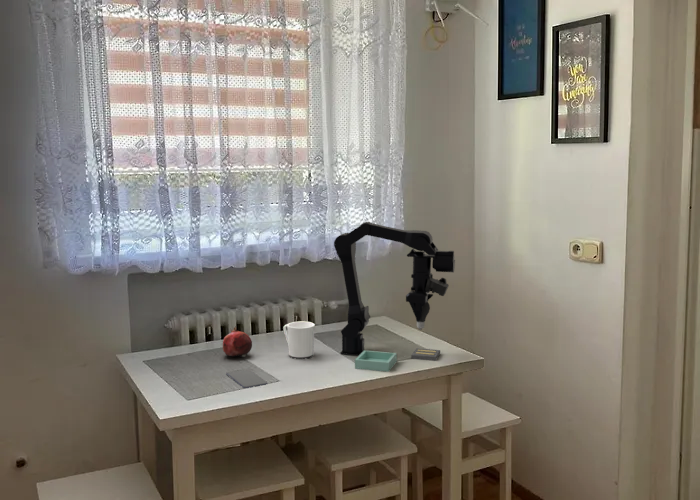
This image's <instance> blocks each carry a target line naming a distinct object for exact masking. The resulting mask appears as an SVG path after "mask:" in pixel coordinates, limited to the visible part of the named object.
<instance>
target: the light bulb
mask: <svg viewBox="0 0 700 500" xmlns="http://www.w3.org/2000/svg"><path fill="white" fill-rule="evenodd" d="M430 310H431V306H430V304H429V301H428V302H427V303H426V304H425V305H424V306H423V311H422V316H421V320H420V321H417V319H416V318H415V321H416V327H417V328H418V330H420V331H422V330H423V329H424V328H425V322H426V319H427V316H428V314H429V313H430ZM412 312H413V311H412ZM413 314H414V312H413ZM414 316H415V314H414Z"/></svg>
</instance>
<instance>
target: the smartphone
mask: <svg viewBox="0 0 700 500" xmlns="http://www.w3.org/2000/svg"><path fill="white" fill-rule="evenodd" d="M225 374H226V376H227V375H228V376H227V377H228V378H230V379H231V380H232V379H233V380H232V381H234V382H235V383H236V382H237V383H236V384H238V385H239V386H240V387H241V386H242V388H243V389H249V387H250V388H254V387H253V386H255V387H261V386H264V385H265V386H266V384H267V385H268V381H266V380H265V379H263V378H262V377H261V376H260V375H258V374H256V373H255V372H254V371H253V370H251V369H250V368H244V369H243V368H242V369H239V370H238V369H237V370H232V371H226V373H225ZM260 385H261V386H260Z"/></svg>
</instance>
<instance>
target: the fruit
mask: <svg viewBox="0 0 700 500" xmlns="http://www.w3.org/2000/svg"><path fill="white" fill-rule="evenodd" d="M230 331H231V332H230V333H228V334H227V335H225V336H224V337H223V341H222V350H223V352H224V354H226V355H227V356H229V357H245V358H247V355H248V354H249V353H250V352H251V350H252V347H253V341H252V339H251V337H250V336H249V334H247V333H245V332H244V331H239V330H238V329H237V325H234V327H233V329H230Z"/></svg>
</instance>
